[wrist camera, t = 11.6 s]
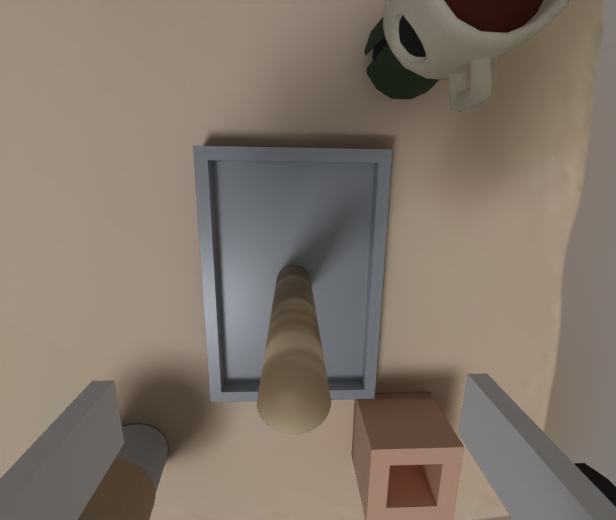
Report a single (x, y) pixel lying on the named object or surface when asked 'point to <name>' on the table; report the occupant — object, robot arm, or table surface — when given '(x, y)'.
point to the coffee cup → (130, 477)
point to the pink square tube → (405, 458)
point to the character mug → (450, 44)
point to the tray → (292, 256)
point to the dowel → (293, 359)
